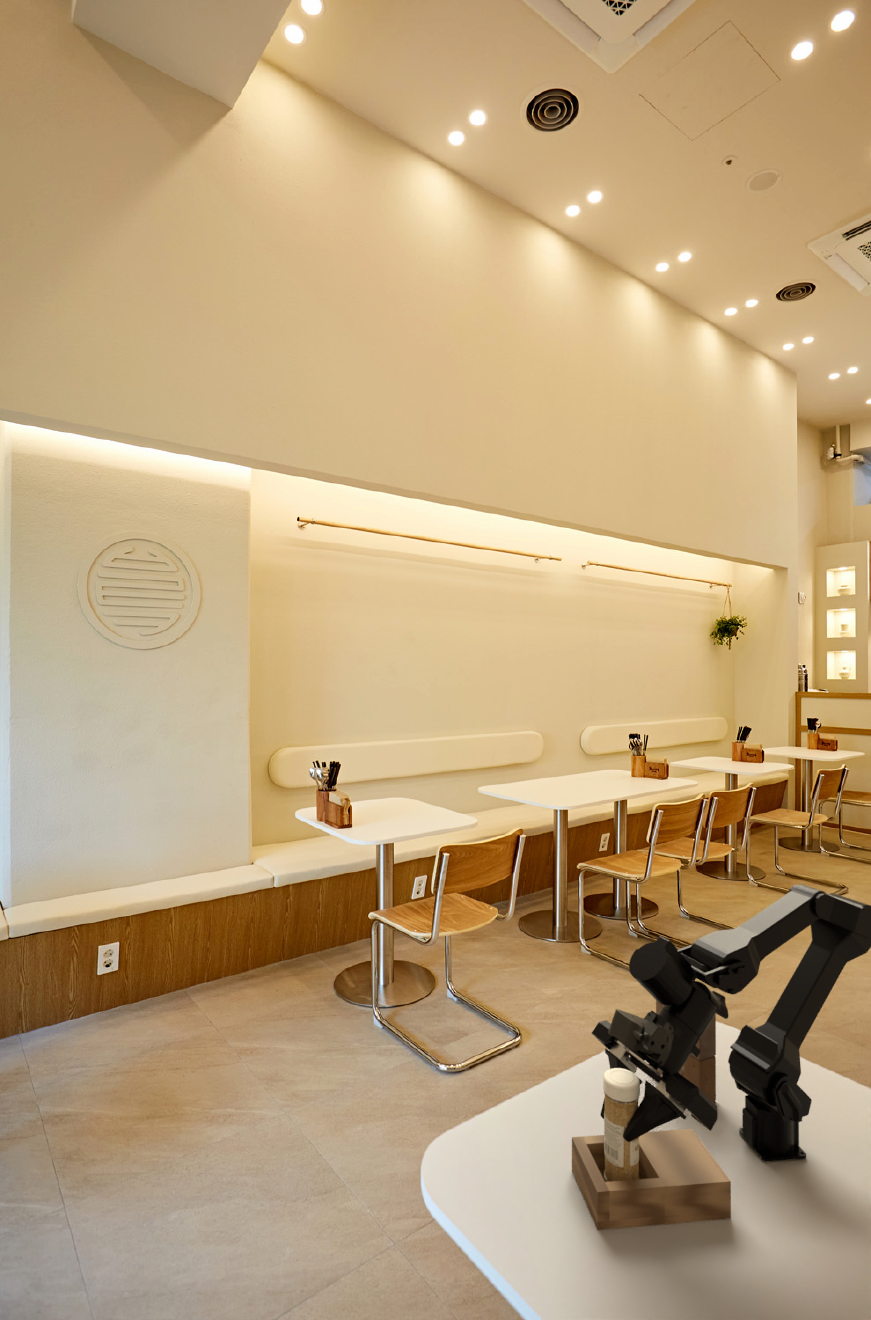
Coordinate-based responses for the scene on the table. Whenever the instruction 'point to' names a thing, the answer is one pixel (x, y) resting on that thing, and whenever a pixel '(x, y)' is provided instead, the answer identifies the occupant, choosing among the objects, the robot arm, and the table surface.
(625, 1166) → the sprinkles bottle
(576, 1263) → the table surface
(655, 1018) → the robot arm
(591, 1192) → the wooden bottle holder
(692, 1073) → the wooden block
